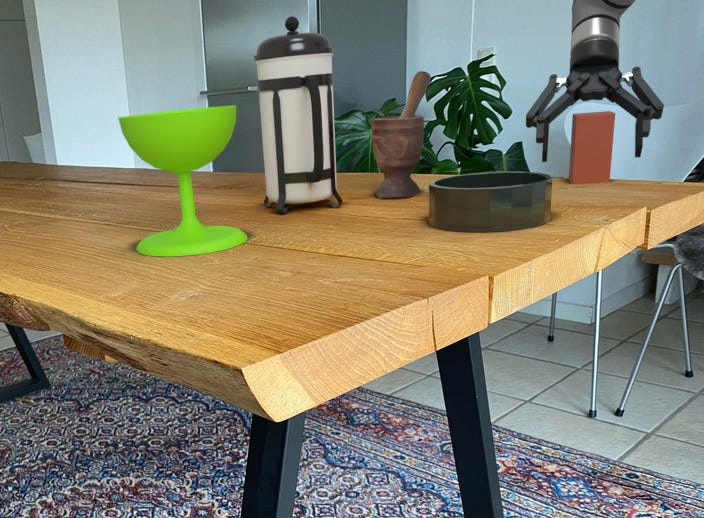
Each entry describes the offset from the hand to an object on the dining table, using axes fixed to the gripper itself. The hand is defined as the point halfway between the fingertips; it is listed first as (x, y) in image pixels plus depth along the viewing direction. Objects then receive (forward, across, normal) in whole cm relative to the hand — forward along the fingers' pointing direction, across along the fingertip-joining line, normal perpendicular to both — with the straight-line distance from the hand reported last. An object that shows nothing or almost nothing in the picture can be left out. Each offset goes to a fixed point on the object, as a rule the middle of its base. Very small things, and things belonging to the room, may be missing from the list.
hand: (590, 154), depth 118 cm
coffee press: (+13, +44, +6) cm, 46 cm away
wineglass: (+33, +52, +26) cm, 67 cm away
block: (+2, 0, -5) cm, 5 cm away
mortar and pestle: (+6, +30, -2) cm, 30 cm away
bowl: (+24, +13, +17) cm, 32 cm away
